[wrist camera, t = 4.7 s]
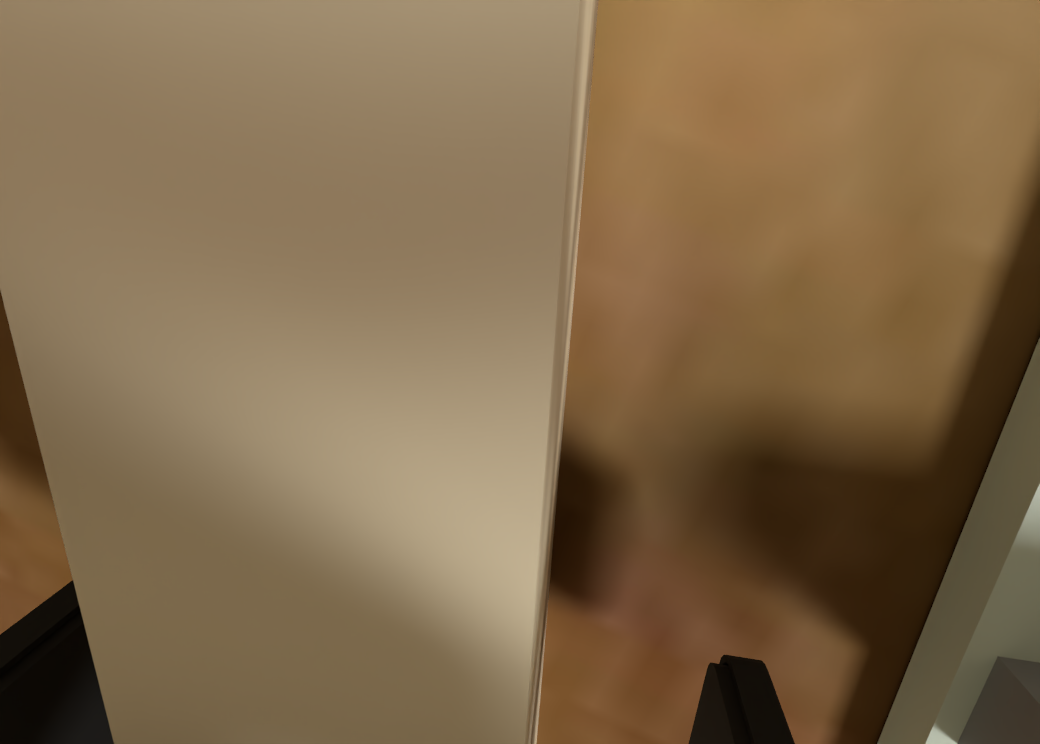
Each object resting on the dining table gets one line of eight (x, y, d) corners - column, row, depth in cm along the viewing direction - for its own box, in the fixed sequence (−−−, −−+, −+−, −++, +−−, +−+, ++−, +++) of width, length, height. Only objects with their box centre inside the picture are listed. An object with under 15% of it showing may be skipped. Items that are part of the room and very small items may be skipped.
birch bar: (331, -136, 8) (-308, -938, 2) (610, -139, 8) (661, -1111, 2) (380, 913, 16) (259, 1324, 10) (520, 941, 15) (476, 1384, 10)
